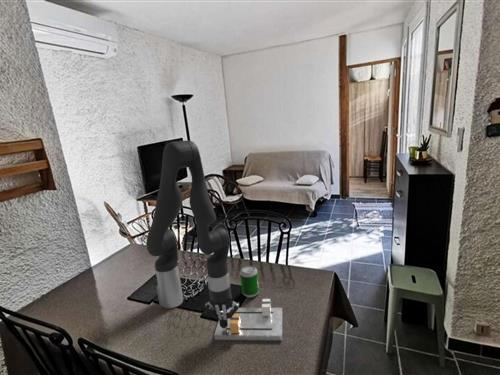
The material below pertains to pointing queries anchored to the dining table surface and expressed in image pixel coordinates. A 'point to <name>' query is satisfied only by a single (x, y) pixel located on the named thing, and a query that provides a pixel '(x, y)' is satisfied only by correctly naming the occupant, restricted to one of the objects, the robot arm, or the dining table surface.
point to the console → (253, 326)
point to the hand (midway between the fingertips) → (224, 326)
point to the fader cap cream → (266, 307)
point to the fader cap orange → (235, 323)
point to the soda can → (249, 281)
